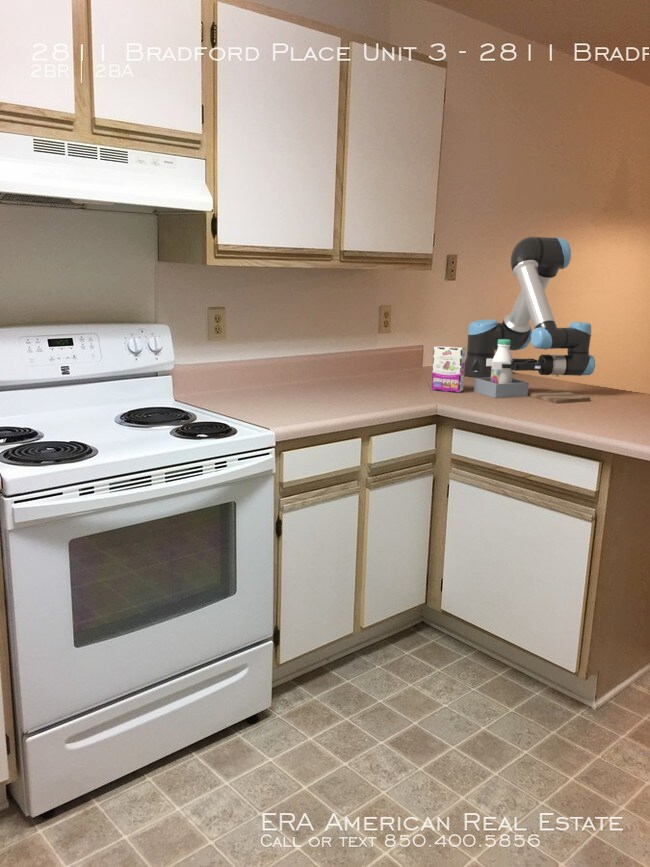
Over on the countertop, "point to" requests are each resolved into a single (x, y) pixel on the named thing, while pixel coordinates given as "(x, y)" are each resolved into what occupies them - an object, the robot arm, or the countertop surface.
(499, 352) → the milk bottle
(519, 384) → the box
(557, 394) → the walnut board
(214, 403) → the countertop surface
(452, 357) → the candy bar box
